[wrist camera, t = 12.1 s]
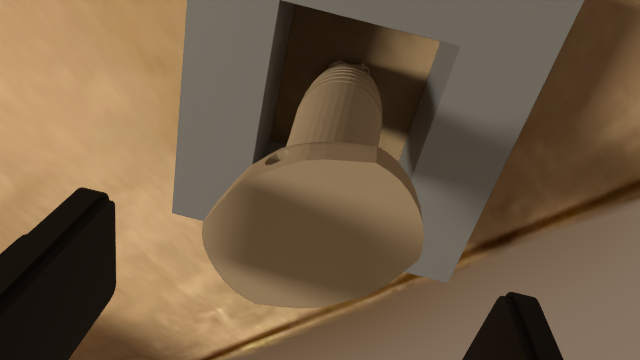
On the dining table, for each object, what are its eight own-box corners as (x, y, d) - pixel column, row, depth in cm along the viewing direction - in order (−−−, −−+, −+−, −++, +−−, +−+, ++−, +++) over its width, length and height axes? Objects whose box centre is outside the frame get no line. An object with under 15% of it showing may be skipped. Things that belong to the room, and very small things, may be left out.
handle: (416, 102, 26) (446, 275, 13) (315, 140, 28) (253, 324, 15) (385, 21, 24) (384, 129, 11) (279, 68, 26) (172, 206, 13)
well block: (232, -110, 22) (195, -119, 18) (551, -28, 22) (592, -17, 18) (202, 171, 30) (172, 213, 26) (438, 231, 30) (447, 282, 26)
